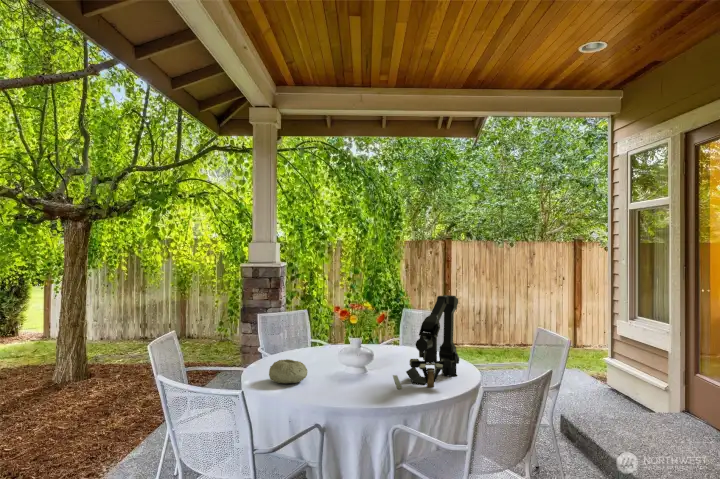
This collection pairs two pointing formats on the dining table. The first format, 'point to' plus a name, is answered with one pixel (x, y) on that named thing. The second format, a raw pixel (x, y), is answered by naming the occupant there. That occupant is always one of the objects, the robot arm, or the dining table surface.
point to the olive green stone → (287, 371)
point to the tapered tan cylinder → (430, 377)
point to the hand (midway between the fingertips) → (430, 382)
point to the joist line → (397, 382)
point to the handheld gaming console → (416, 377)
